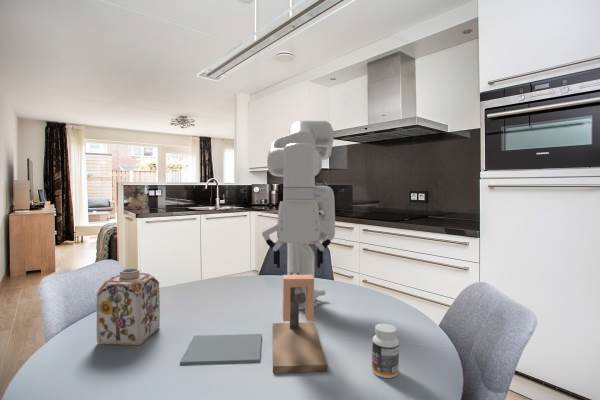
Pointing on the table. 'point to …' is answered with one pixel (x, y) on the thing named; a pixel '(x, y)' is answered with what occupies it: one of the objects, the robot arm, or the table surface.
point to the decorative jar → (128, 308)
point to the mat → (223, 349)
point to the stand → (297, 341)
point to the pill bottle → (385, 351)
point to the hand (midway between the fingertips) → (298, 267)
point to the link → (309, 303)
